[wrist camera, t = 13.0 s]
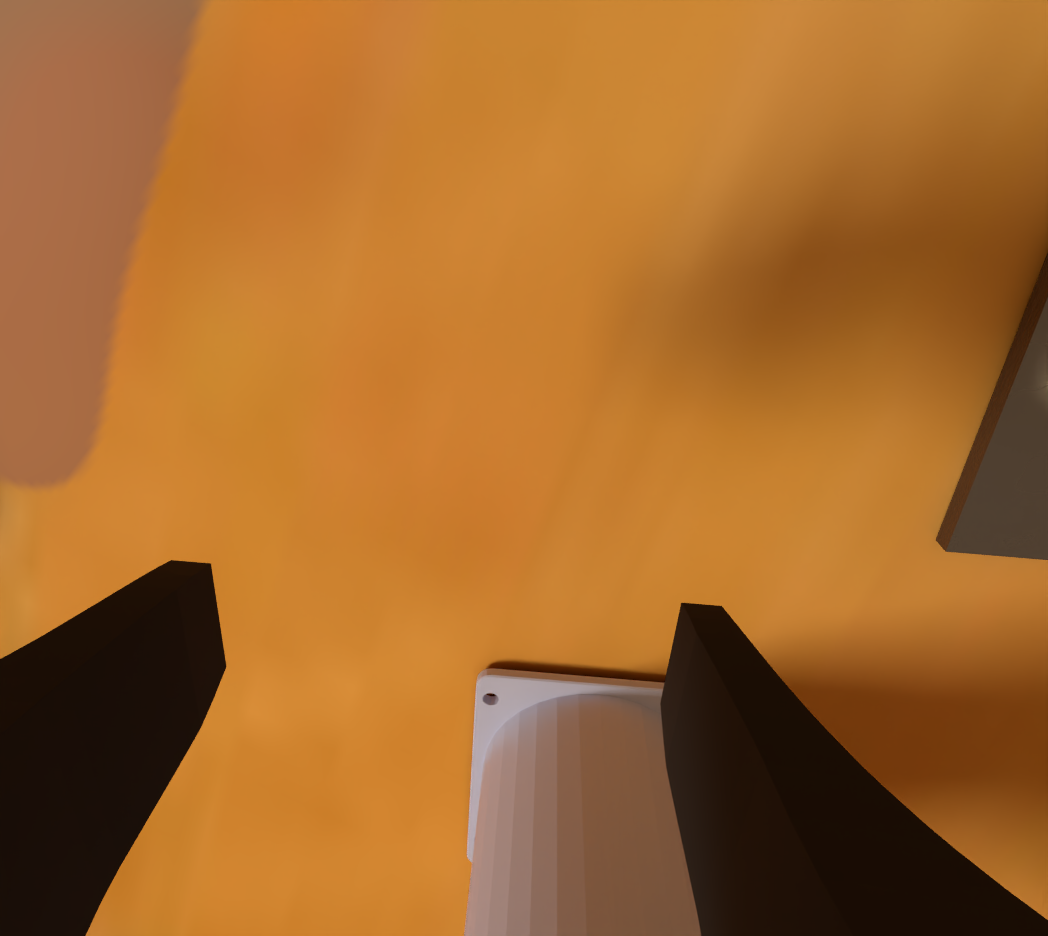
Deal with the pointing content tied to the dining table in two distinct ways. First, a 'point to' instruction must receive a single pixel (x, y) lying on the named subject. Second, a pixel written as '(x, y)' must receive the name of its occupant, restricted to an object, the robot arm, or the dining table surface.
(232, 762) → the dining table surface
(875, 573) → the dining table surface
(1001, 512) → the grey framed slot plate
